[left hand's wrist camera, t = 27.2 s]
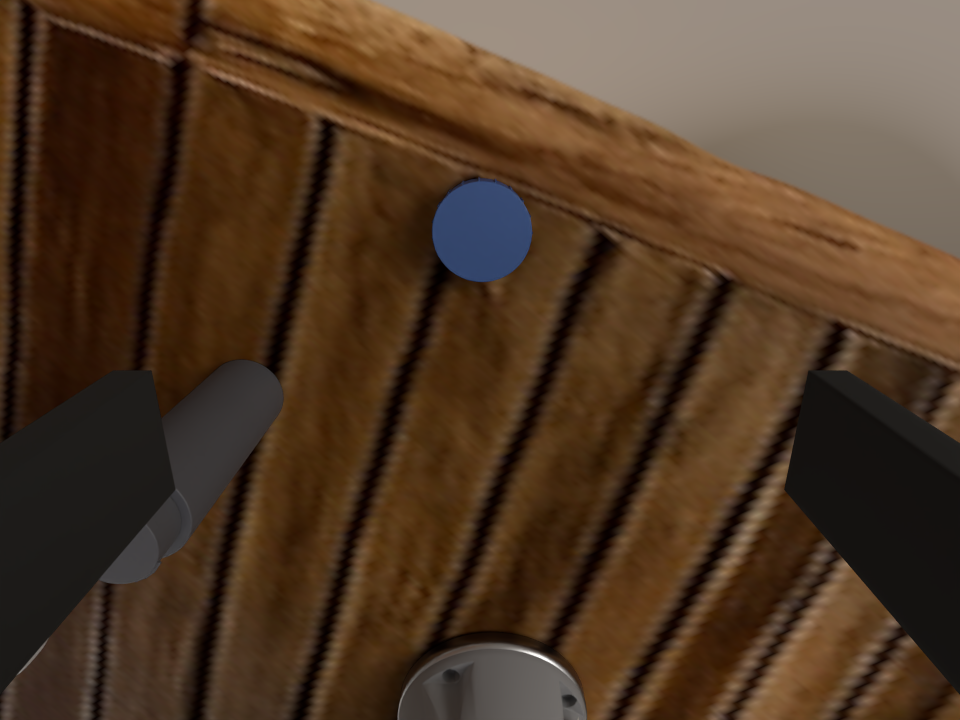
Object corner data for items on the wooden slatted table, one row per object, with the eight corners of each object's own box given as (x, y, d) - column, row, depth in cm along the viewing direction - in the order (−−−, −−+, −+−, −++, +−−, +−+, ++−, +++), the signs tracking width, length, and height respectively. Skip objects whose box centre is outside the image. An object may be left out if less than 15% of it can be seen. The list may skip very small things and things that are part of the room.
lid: (538, 263, 38) (541, 271, 35) (446, 283, 38) (444, 292, 36) (519, 167, 36) (522, 169, 33) (423, 189, 36) (419, 193, 34)
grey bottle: (195, 400, 41) (30, 555, 26) (232, 344, 40) (79, 474, 24) (260, 440, 42) (137, 610, 27) (297, 387, 41) (190, 536, 26)
